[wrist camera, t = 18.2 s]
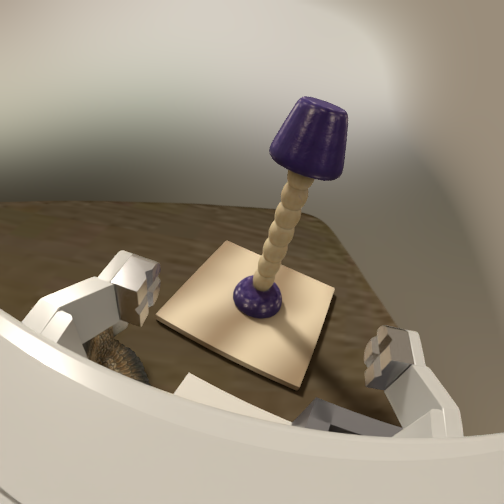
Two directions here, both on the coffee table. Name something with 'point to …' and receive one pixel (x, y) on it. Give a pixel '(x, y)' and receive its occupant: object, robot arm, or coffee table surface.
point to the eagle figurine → (115, 353)
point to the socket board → (312, 417)
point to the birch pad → (245, 327)
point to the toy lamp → (294, 192)
